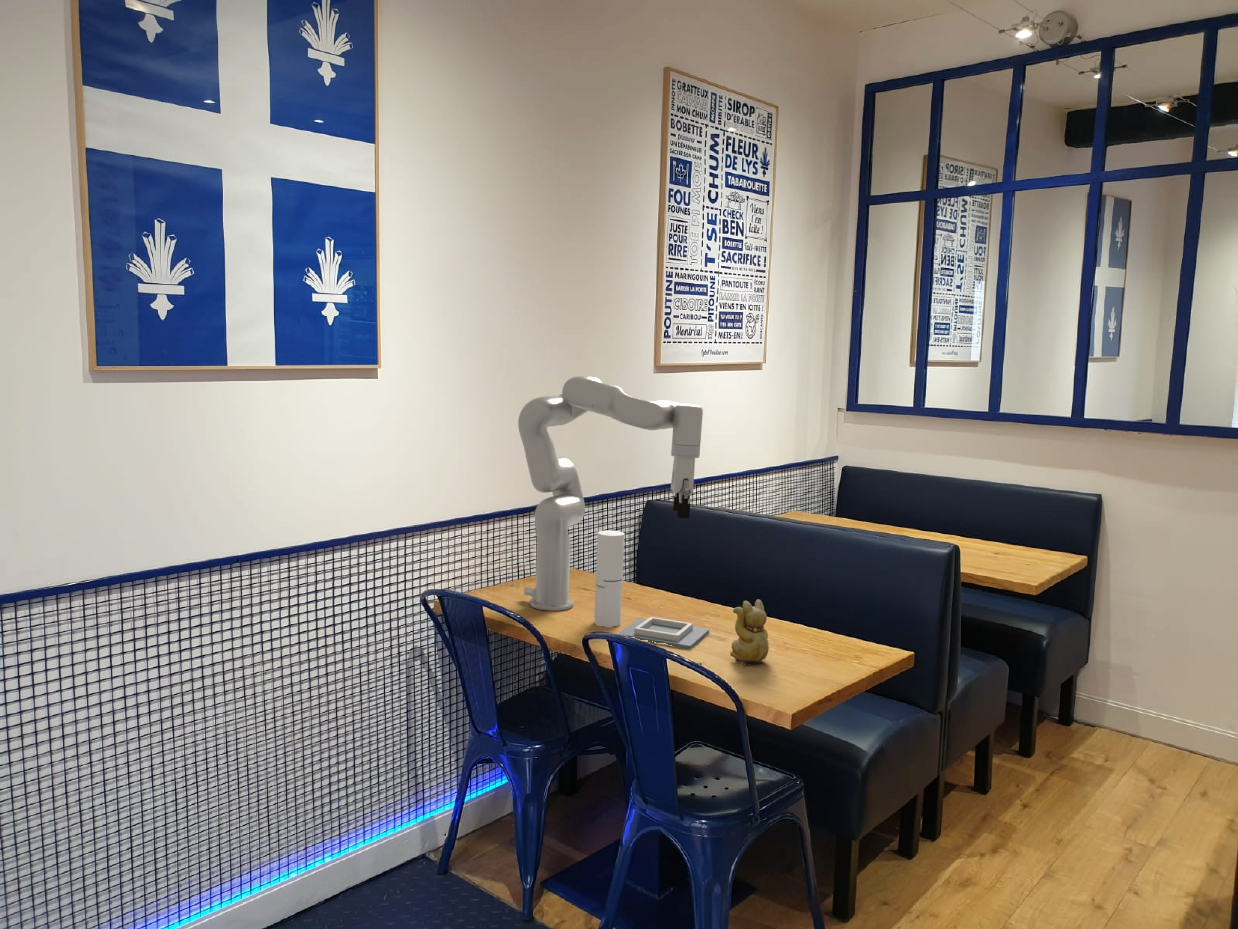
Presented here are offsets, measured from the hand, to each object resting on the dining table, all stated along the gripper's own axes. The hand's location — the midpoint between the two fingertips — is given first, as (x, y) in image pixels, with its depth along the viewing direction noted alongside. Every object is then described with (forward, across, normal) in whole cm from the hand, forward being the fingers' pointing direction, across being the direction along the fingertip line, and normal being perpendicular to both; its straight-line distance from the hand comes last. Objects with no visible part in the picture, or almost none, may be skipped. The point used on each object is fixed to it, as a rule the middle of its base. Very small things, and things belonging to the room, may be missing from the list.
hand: (680, 514), depth 250 cm
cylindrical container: (+32, -2, -18) cm, 36 cm away
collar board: (+31, +7, -3) cm, 32 cm away
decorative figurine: (+31, +27, +16) cm, 44 cm away
